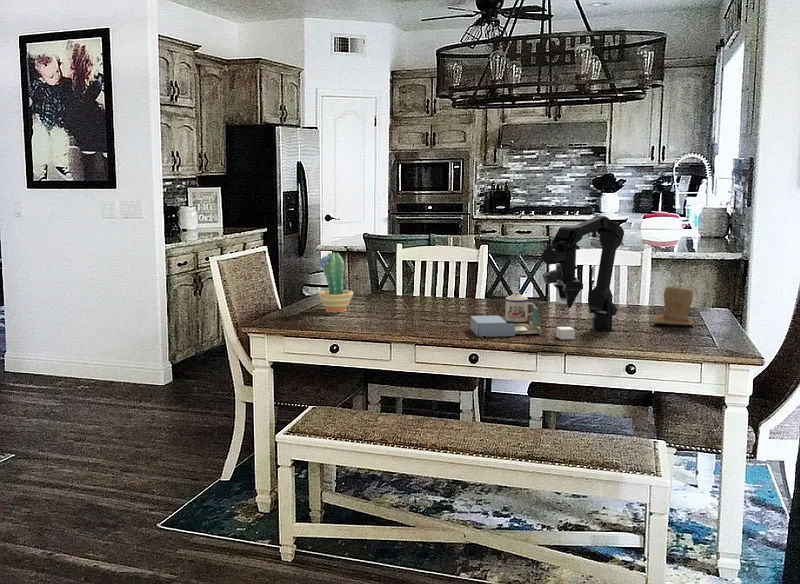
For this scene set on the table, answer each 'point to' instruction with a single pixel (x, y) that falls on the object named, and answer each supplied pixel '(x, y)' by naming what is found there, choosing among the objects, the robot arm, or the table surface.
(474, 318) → the housing
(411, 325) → the table surface
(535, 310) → the tray
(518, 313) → the teacup with lid
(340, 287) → the potted cactus
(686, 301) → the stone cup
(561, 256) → the robot arm
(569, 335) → the pedestal
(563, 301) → the disc
